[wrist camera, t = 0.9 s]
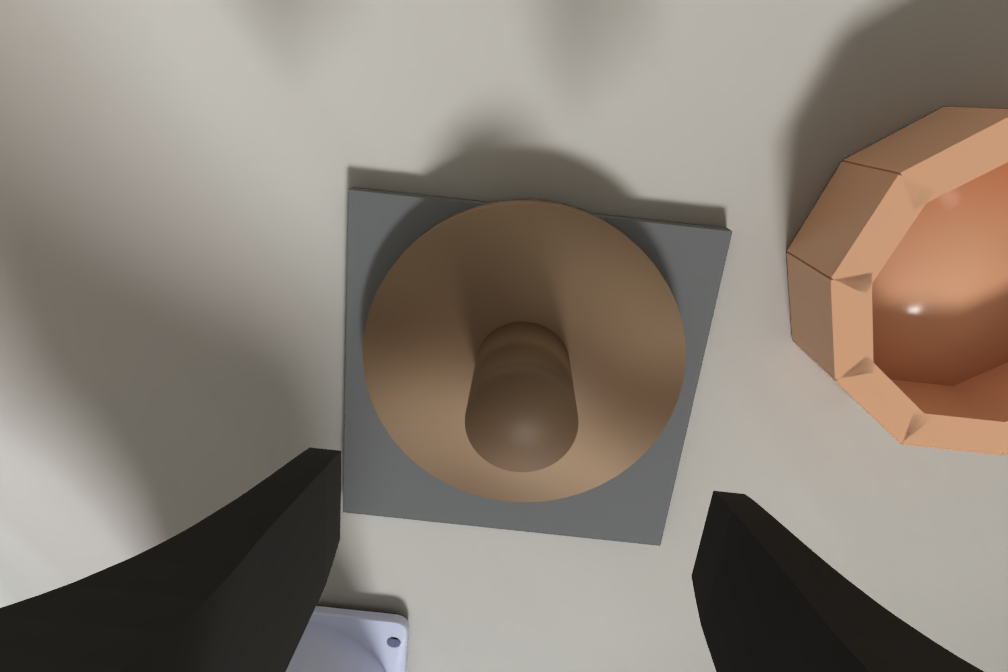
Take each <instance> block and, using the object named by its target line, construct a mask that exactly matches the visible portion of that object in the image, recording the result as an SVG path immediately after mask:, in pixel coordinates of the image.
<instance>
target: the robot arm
mask: <svg viewBox="0 0 1008 672" xmlns="http://www.w3.org/2000/svg"><path fill="white" fill-rule="evenodd" d="M340 501H341V451H336V450H327V449H317V448H309V449H307V450H306V451H304V452H303V453H301V454H300V455H298V456H297V457H296V458H294V459H293V460H291V461H290V462H289V463H287V464H286V465H284V466H283V467H282V468H280V469H279V470H278V471H276V472H275V473H273V474H272V475H271V476H269V477H268V478H266V479H265V480H263V481H262V482H261V483H259V484H258V485H256V486H255V487H253V488H252V489H250V490H249V491H248V492H246V493H245V494H243V495H242V496H240V497H239V498H237V499H236V500H234V501H233V502H231V503H229V504H228V505H226V506H225V507H223V508H221V509H220V510H218V511H216V512H215V513H213V514H212V515H210V516H208V517H207V518H205V519H204V520H202V521H200V522H199V523H197V524H196V525H194V526H192V527H190V528H189V529H187V530H185V531H183V532H181V533H180V534H178V535H176V536H174V537H172V538H170V539H169V540H167V541H165V542H163V543H161V544H159V545H157V546H155V547H153V548H151V549H149V550H147V551H145V552H143V553H141V554H139V555H137V556H134V557H132V558H130V559H128V560H125V561H123V562H121V563H118V564H116V565H114V566H111V567H109V568H107V569H104V570H102V571H100V572H97V573H95V574H93V575H90V576H88V577H86V578H83V579H81V580H79V581H76V582H74V583H71V584H68V585H66V586H63V587H60V588H58V589H55V590H52V591H49V592H47V593H44V594H41V595H38V596H35V597H32V598H29V599H26V600H23V601H20V602H17V603H15V604H12V605H9V606H6V607H2V608H0V672H406V668H407V653H408V637H409V622H408V621H407V619H406V618H404V617H403V616H401V615H397V614H388V613H379V612H369V611H360V610H350V609H340V608H331V607H321V606H316V605H317V603H318V601H319V598H320V596H321V594H322V592H323V589H324V587H325V585H326V582H327V578H328V575H329V572H330V569H331V566H332V563H333V560H334V557H335V553H336V550H337V547H338V543H339V540H340ZM692 581H693V586H694V592H695V597H696V603H697V608H698V612H699V617H700V622H701V626H702V629H703V632H704V635H705V639H706V642H707V645H708V648H709V651H710V653H711V656H712V659H713V662H714V665H715V668H716V671H717V672H983V671H982V670H980V669H978V668H977V667H975V666H973V665H971V664H970V663H968V662H966V661H965V660H963V659H961V658H959V657H958V656H956V655H954V654H953V653H951V652H950V651H948V650H946V649H945V648H943V647H942V646H940V645H938V644H937V643H935V642H934V641H932V640H931V639H929V638H928V637H926V636H925V635H923V634H922V633H920V632H919V631H917V630H916V629H914V628H913V627H911V626H910V625H908V624H907V623H905V622H904V621H902V620H901V619H899V618H898V617H896V616H895V615H894V614H892V613H891V612H889V611H888V610H887V609H885V608H884V607H882V606H881V605H880V604H878V603H877V602H876V601H874V600H873V599H872V598H870V597H869V596H868V595H866V594H865V593H864V592H863V591H861V590H860V589H859V588H857V587H856V586H855V585H853V584H852V583H851V582H850V581H848V580H847V579H846V578H844V577H843V576H842V575H841V574H840V573H838V572H837V571H836V570H835V569H833V568H832V567H831V566H830V565H828V564H827V563H826V562H825V561H824V560H822V559H821V558H820V557H819V556H818V555H817V554H815V553H814V552H813V551H812V550H811V549H809V548H808V547H807V546H806V545H805V544H804V543H802V542H801V541H800V540H799V539H798V538H797V537H796V536H794V535H793V534H792V533H791V532H790V531H789V530H787V529H786V528H785V527H784V526H783V525H782V524H781V523H779V522H778V521H777V520H776V519H775V518H774V517H773V516H771V515H770V514H769V513H768V512H767V511H766V510H764V509H763V508H762V507H761V506H760V505H758V504H757V503H756V502H755V501H753V500H752V499H751V498H749V497H748V496H747V495H745V494H738V493H728V492H719V491H713V495H712V499H711V503H710V506H709V510H708V514H707V518H706V522H705V526H704V530H703V534H702V538H701V542H700V545H699V549H698V553H697V557H696V561H695V565H694V569H693V573H692ZM391 637H396V638H398V639H393V638H391Z"/></svg>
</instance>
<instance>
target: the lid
mask: <svg viewBox="0 0 1008 672" xmlns="http://www.w3.org/2000/svg"><path fill="white" fill-rule="evenodd" d="M685 365H686V343H685V336H684V328H683V323H682V320H681V316H680V313H679V309H678V306H677V303H676V301H675V299H674V297H673V295H672V292H671V290H670V288H669V286H668V284H667V283H666V281H665V280H664V278H663V277H662V275H661V273H660V272H659V270H658V269H657V267H656V266H655V265H654V263H653V262H652V261H651V260H650V258H649V257H648V256H647V255H646V254H645V253H644V251H643V250H642V249H641V248H640V247H639V246H638V245H637V244H636V243H635V242H634V241H633V240H631V239H630V238H629V237H628V236H627V235H626V234H625V233H623V232H622V231H621V230H619V229H618V228H616V227H615V226H613V225H611V224H610V223H608V222H607V221H605V220H604V219H601V218H599V217H597V216H595V215H593V214H591V213H589V212H587V211H585V210H581V209H578V208H575V207H572V206H569V205H566V204H562V203H556V202H550V201H545V200H530V199H515V200H504V201H496V202H492V203H487V204H483V205H479V206H475V207H472V208H470V209H467V210H464V211H462V212H459V213H456V214H454V215H452V216H451V217H449V218H447V219H445V220H443V221H441V222H439V223H437V224H436V225H435V226H433V227H432V228H430V229H429V230H428V231H426V232H425V233H424V234H422V235H421V236H420V237H419V238H417V239H416V240H415V241H414V242H413V243H412V244H411V245H410V246H409V247H408V248H407V249H406V250H405V251H404V252H403V254H402V255H401V256H400V257H399V259H398V260H397V261H396V263H395V264H394V265H393V266H392V268H391V269H390V270H389V271H388V273H387V274H386V276H385V278H384V279H383V281H382V283H381V285H380V286H379V288H378V290H377V292H376V294H375V297H374V299H373V302H372V304H371V307H370V309H369V313H368V317H367V321H366V325H365V329H364V339H363V368H364V374H365V379H366V385H367V389H368V392H369V395H370V398H371V401H372V404H373V406H374V408H375V410H376V412H377V415H378V417H379V419H380V421H381V423H382V424H383V426H384V427H385V429H386V430H387V432H388V433H389V435H390V436H391V438H392V439H393V440H394V441H395V443H396V444H397V445H398V446H399V447H400V448H401V450H402V451H403V452H404V453H405V454H406V455H407V456H408V457H410V458H411V459H412V460H413V461H414V462H415V463H416V464H417V465H418V466H420V467H421V468H423V469H424V470H425V471H427V472H428V473H430V474H431V475H432V476H434V477H436V478H437V479H439V480H441V481H443V482H445V483H446V484H448V485H450V486H452V487H455V488H457V489H460V490H462V491H465V492H467V493H470V494H474V495H477V496H481V497H484V498H488V499H494V500H500V501H507V502H543V501H550V500H556V499H562V498H566V497H569V496H573V495H576V494H580V493H583V492H585V491H588V490H590V489H593V488H595V487H597V486H600V485H602V484H603V483H605V482H607V481H609V480H611V479H612V478H614V477H616V476H618V475H619V474H620V473H622V472H623V471H624V470H626V469H627V468H628V467H630V466H631V465H633V464H634V463H635V462H636V461H637V460H638V459H639V458H640V457H641V456H642V455H643V454H644V453H645V452H646V451H647V450H648V449H649V448H650V447H651V445H652V444H653V443H654V442H655V441H656V439H657V438H658V437H659V436H660V434H661V432H662V431H663V429H664V428H665V426H666V424H667V423H668V421H669V419H670V417H671V415H672V413H673V411H674V408H675V406H676V404H677V401H678V398H679V395H680V391H681V388H682V385H683V379H684V372H685Z"/></svg>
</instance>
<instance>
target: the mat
mask: <svg viewBox="0 0 1008 672" xmlns="http://www.w3.org/2000/svg"><path fill="white" fill-rule="evenodd" d="M487 203H492V202H483V201H474V200H465V199H455V198H446V197H437V196H428V195H419V194H409V193H400V192H391V191H382V190H372V189H363V188H354V187H353V188H351V189H349V192H348V251H347V310H346V369H345V427H344V486H343V512H347V513H356V514H365V515H375V516H384V517H394V518H403V519H413V520H422V521H432V522H441V523H450V524H460V525H469V526H479V527H488V528H498V529H507V530H516V531H526V532H535V533H545V534H554V535H564V536H573V537H583V538H592V539H601V540H611V541H620V542H630V543H639V544H649V545H658V546H660V544H661V540H662V536H663V531H664V527H665V523H666V518H667V514H668V510H669V505H670V501H671V496H672V492H673V488H674V483H675V479H676V475H677V470H678V466H679V462H680V457H681V453H682V448H683V444H684V440H685V435H686V431H687V427H688V422H689V418H690V414H691V409H692V405H693V400H694V396H695V392H696V387H697V383H698V379H699V374H700V370H701V366H702V361H703V357H704V352H705V348H706V344H707V339H708V335H709V331H710V326H711V322H712V318H713V313H714V309H715V304H716V300H717V296H718V291H719V287H720V283H721V278H722V274H723V270H724V265H725V261H726V256H727V252H728V248H729V243H730V239H731V235H732V231H731V230H729V229H728V228H722V227H713V226H704V225H695V224H686V223H676V222H667V221H658V220H649V219H640V218H630V217H621V216H612V215H603V214H594V213H591V214H593V215H595V216H597V217H599V218H601V219H604V220H605V221H607V222H608V223H610V224H611V225H613V226H615V227H616V228H618V229H619V230H621V231H622V232H623V233H625V234H626V235H627V236H628V237H629V238H630V239H631V240H633V241H634V242H635V243H636V244H637V245H638V246H639V247H640V248H641V249H642V250H643V251H644V253H645V254H646V255H647V256H648V257H649V258H650V260H651V261H652V262H653V263H654V265H655V266H656V267H657V269H658V270H659V272H660V273H661V275H662V277H663V278H664V280H665V281H666V283H667V284H668V286H669V288H670V290H671V292H672V295H673V297H674V299H675V301H676V303H677V306H678V309H679V313H680V316H681V320H682V323H683V328H684V336H685V343H686V365H685V372H684V379H683V385H682V388H681V391H680V395H679V398H678V401H677V404H676V406H675V408H674V411H673V413H672V415H671V417H670V419H669V421H668V423H667V424H666V426H665V428H664V429H663V431H662V432H661V434H660V436H659V437H658V438H657V439H656V441H655V442H654V443H653V444H652V445H651V447H650V448H649V449H648V450H647V451H646V452H645V453H644V454H643V455H642V456H641V457H640V458H639V459H638V460H637V461H636V462H635V463H634V464H633V465H631V466H630V467H628V468H627V469H626V470H624V471H623V472H622V473H620V474H619V475H618V476H616V477H614V478H612V479H611V480H609V481H607V482H605V483H603V484H602V485H600V486H597V487H595V488H593V489H590V490H588V491H585V492H583V493H580V494H576V495H573V496H569V497H566V498H562V499H556V500H550V501H543V502H507V501H500V500H494V499H488V498H484V497H481V496H477V495H474V494H470V493H467V492H465V491H462V490H460V489H457V488H455V487H452V486H450V485H448V484H446V483H445V482H443V481H441V480H439V479H437V478H436V477H434V476H432V475H431V474H430V473H428V472H427V471H425V470H424V469H423V468H421V467H420V466H418V465H417V464H416V463H415V462H414V461H413V460H412V459H411V458H410V457H408V456H407V455H406V454H405V453H404V452H403V451H402V450H401V448H400V447H399V446H398V445H397V444H396V443H395V441H394V440H393V439H392V438H391V436H390V435H389V433H388V432H387V430H386V429H385V427H384V426H383V424H382V423H381V421H380V419H379V417H378V415H377V412H376V410H375V408H374V406H373V404H372V401H371V398H370V395H369V392H368V389H367V385H366V379H365V374H364V368H363V339H364V329H365V325H366V321H367V317H368V313H369V309H370V307H371V304H372V302H373V299H374V297H375V294H376V292H377V290H378V288H379V286H380V285H381V283H382V281H383V279H384V278H385V276H386V274H387V273H388V271H389V270H390V269H391V268H392V266H393V265H394V264H395V263H396V261H397V260H398V259H399V257H400V256H401V255H402V254H403V252H404V251H405V250H406V249H407V248H408V247H409V246H410V245H411V244H412V243H413V242H414V241H415V240H416V239H417V238H419V237H420V236H421V235H422V234H424V233H425V232H426V231H428V230H429V229H430V228H432V227H433V226H435V225H436V224H437V223H439V222H441V221H443V220H445V219H447V218H449V217H451V216H452V215H454V214H456V213H459V212H462V211H464V210H467V209H470V208H472V207H475V206H479V205H483V204H487Z"/></svg>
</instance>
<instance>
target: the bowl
mask: <svg viewBox="0 0 1008 672" xmlns="http://www.w3.org/2000/svg"><path fill="white" fill-rule="evenodd" d="M787 251H788V252H787V253H786V254H787V269H788V284H789V299H790V315H791V330H792V340H793V341H794V342H795V343H796V344H797V345H798V346H799V347H800V348H801V349H802V350H803V351H804V352H805V353H806V354H807V355H808V356H809V357H810V358H811V359H812V360H813V361H814V362H815V363H816V364H817V365H818V366H819V367H820V368H821V369H822V370H824V371H825V372H826V373H827V374H828V375H829V376H830V377H831V378H832V379H833V380H834V381H835V382H836V383H837V384H838V385H839V386H840V387H841V388H842V389H843V390H844V391H845V392H846V393H847V394H848V395H849V396H850V397H851V398H852V399H853V400H855V401H856V402H857V403H858V404H859V405H860V406H861V407H862V408H863V409H864V410H865V411H866V412H867V413H868V414H869V415H870V416H871V417H872V418H874V419H875V420H876V421H877V422H878V423H879V424H880V425H881V426H882V427H883V428H884V429H885V430H886V431H887V432H888V433H889V434H890V435H891V436H893V437H894V438H895V439H896V440H897V441H898V442H899V443H901V444H903V445H912V446H921V447H931V448H940V449H949V450H959V451H968V452H977V453H987V454H996V455H1002V454H1004V455H1005V454H1007V453H1008V109H999V108H973V107H948V106H945V107H942V108H940V109H938V110H936V111H935V112H933V113H931V114H929V115H927V116H925V117H923V118H921V119H920V120H918V121H916V122H914V123H912V124H910V125H908V126H906V127H904V128H903V129H901V130H899V131H897V132H895V133H893V134H891V135H889V136H887V137H886V138H884V139H882V140H880V141H878V142H876V143H874V144H872V145H871V146H869V147H867V148H865V149H863V150H861V151H859V152H857V153H855V154H854V155H852V156H850V157H848V158H846V159H844V162H841V163H840V165H839V167H838V168H837V170H836V172H835V173H834V175H833V176H832V178H831V180H830V181H829V183H828V185H827V186H826V188H825V189H824V191H823V193H822V194H821V196H820V198H819V199H818V201H817V202H816V204H815V206H814V207H813V209H812V211H811V212H810V214H809V215H808V217H807V219H806V220H805V222H804V224H803V225H802V227H801V229H800V230H799V232H798V233H797V235H796V237H795V238H794V240H793V242H792V243H791V245H790V246H789V248H788V250H787Z"/></svg>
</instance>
